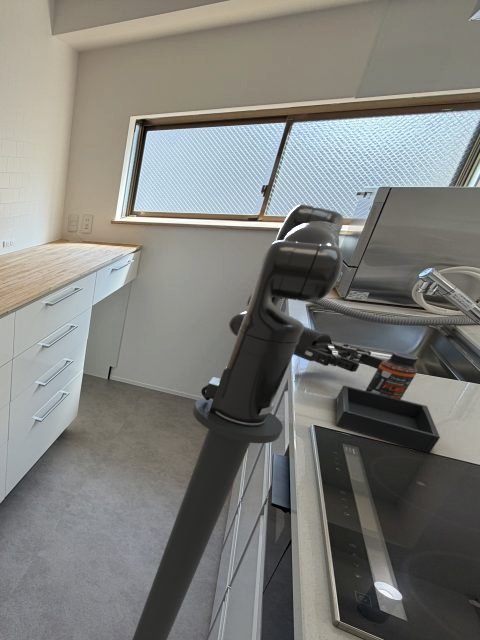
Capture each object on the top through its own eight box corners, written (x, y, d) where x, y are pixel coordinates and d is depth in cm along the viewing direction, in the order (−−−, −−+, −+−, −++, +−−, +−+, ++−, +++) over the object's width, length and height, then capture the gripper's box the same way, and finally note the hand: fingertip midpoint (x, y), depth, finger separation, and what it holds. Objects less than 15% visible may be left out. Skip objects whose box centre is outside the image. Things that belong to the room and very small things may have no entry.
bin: (336, 425, 83) (343, 410, 81) (336, 398, 94) (343, 385, 92) (429, 453, 76) (440, 437, 74) (418, 420, 86) (427, 405, 85)
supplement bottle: (373, 405, 92) (399, 358, 87) (356, 393, 97) (379, 348, 92) (404, 408, 91) (432, 361, 86) (384, 396, 96) (410, 351, 91)
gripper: (287, 329, 105) (355, 353, 92) (328, 327, 109) (399, 349, 95) (276, 356, 109) (340, 383, 95) (316, 353, 113) (383, 378, 99)
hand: (370, 366), depth 95 cm, fingers open, 8 cm apart
